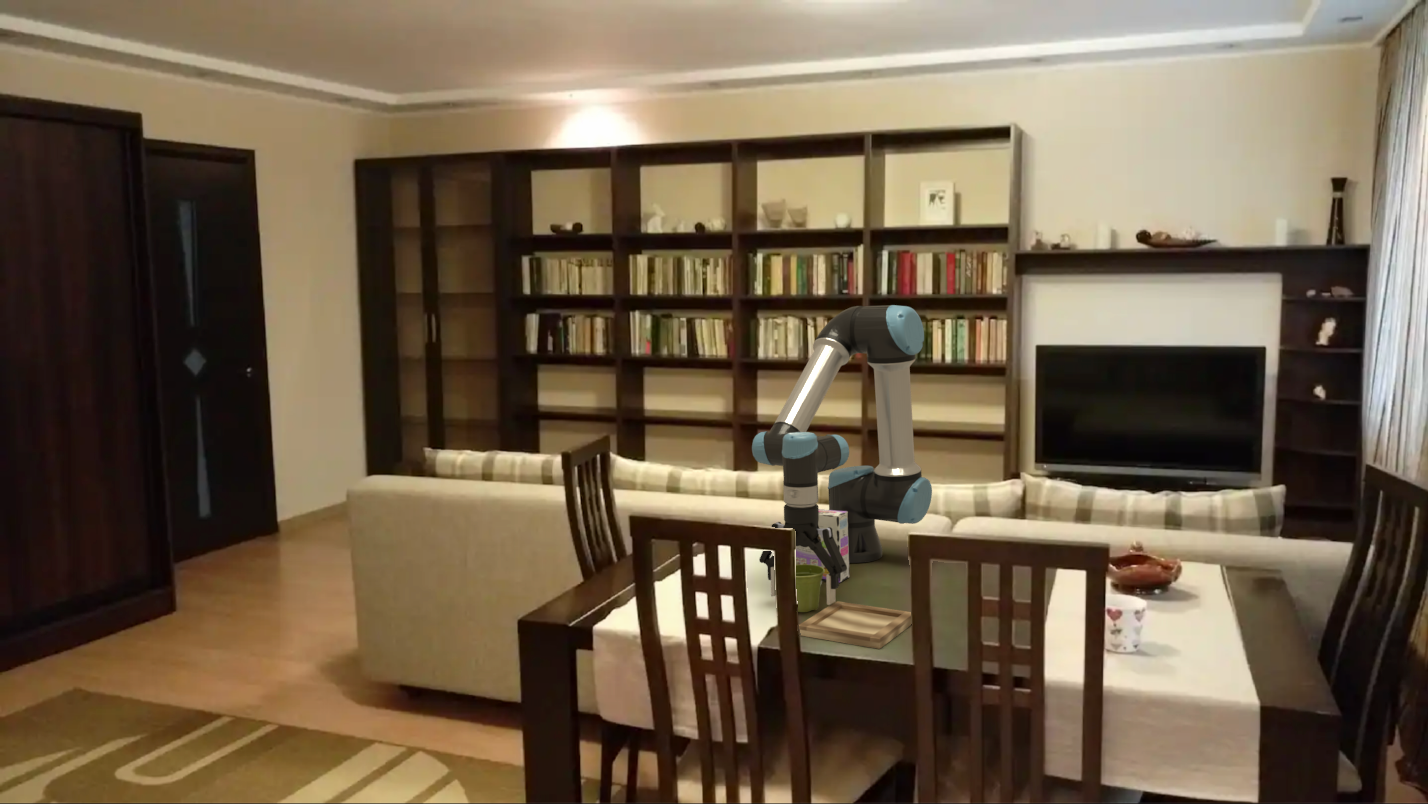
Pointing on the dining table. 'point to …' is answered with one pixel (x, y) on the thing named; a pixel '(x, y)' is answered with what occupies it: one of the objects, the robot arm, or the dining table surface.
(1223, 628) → the dining table surface
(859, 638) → the wooden tray
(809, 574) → the plant pot
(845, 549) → the candy box
